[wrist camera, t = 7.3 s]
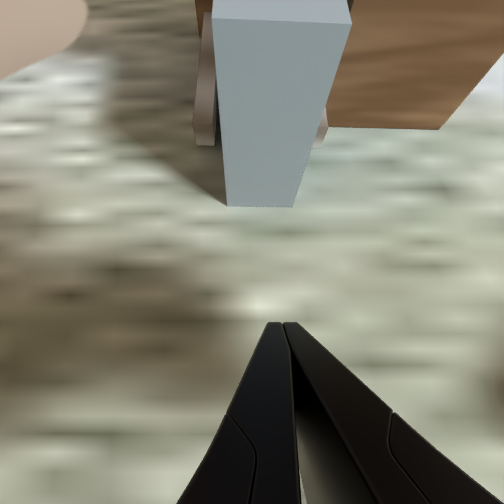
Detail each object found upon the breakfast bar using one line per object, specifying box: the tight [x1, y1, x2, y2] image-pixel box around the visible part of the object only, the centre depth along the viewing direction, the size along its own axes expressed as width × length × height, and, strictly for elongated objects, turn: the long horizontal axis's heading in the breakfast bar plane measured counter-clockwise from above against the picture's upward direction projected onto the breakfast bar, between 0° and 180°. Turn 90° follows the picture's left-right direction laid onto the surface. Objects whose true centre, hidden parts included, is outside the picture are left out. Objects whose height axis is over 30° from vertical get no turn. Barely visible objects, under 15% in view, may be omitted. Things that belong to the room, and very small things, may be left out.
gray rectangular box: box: [212, 0, 352, 207], centre depth 15 cm, size 16×5×10 cm, turn 0°
